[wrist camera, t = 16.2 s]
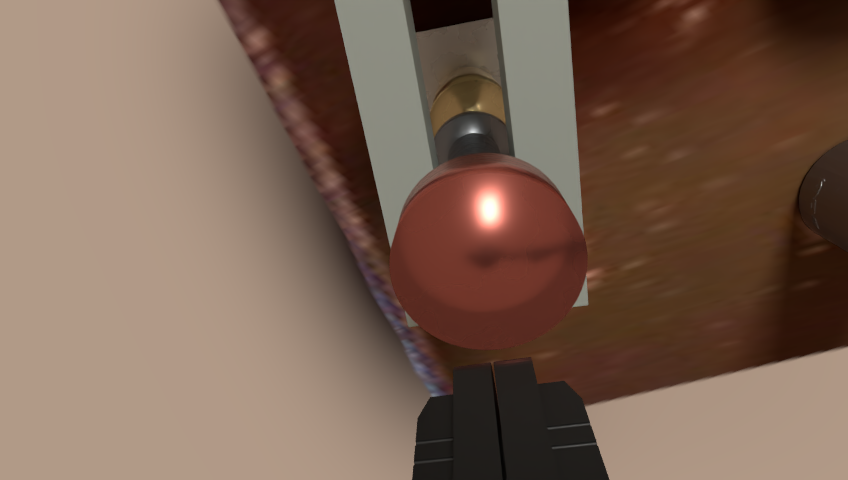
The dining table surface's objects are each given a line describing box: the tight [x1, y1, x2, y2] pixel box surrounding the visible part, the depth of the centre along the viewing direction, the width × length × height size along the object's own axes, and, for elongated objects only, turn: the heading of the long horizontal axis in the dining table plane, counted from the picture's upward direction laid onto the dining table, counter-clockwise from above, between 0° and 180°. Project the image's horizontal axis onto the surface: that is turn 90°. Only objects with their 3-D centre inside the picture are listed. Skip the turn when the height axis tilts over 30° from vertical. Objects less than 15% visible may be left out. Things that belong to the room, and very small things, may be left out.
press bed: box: [416, 17, 501, 112], centre depth 41 cm, size 11×11×2 cm
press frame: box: [334, 0, 588, 327], centre depth 29 cm, size 8×20×25 cm, turn 10°
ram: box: [390, 111, 587, 350], centre depth 19 cm, size 5×5×12 cm
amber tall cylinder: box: [430, 67, 506, 137], centre depth 34 cm, size 5×5×14 cm
